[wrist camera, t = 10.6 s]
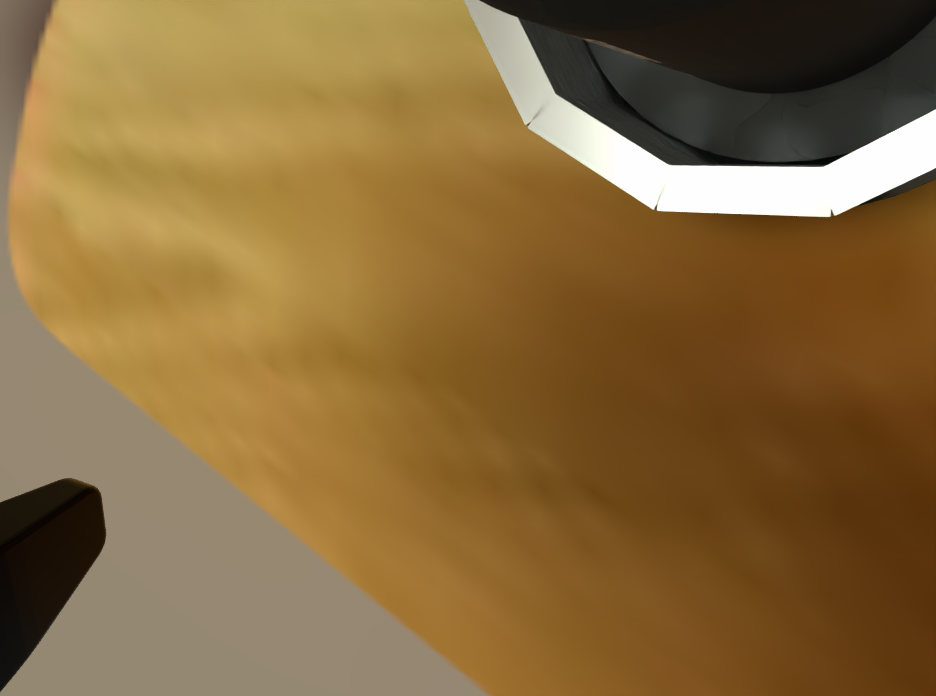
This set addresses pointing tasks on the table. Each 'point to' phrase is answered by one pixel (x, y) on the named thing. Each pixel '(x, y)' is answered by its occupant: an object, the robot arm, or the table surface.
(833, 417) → the table surface
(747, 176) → the can holder
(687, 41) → the beverage can
